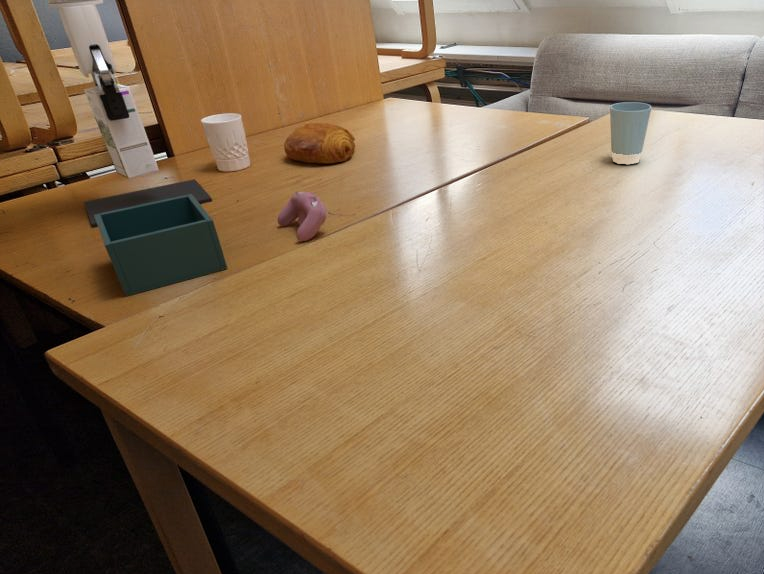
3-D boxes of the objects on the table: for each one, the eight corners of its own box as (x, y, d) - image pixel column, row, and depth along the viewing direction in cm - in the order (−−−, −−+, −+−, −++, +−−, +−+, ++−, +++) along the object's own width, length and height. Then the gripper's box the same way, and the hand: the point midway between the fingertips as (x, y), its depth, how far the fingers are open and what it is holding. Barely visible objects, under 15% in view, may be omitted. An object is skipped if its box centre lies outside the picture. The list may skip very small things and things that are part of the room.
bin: (126, 296, 83) (104, 245, 79) (113, 262, 93) (93, 214, 88) (227, 269, 89) (212, 219, 85) (206, 239, 99) (191, 193, 94)
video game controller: (323, 247, 98) (335, 204, 96) (296, 242, 95) (308, 197, 93) (300, 228, 104) (310, 188, 102) (274, 223, 101) (284, 181, 99)
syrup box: (160, 171, 111) (131, 85, 103) (127, 180, 108) (94, 91, 100) (147, 165, 114) (118, 81, 106) (115, 174, 111) (81, 87, 103)
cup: (604, 166, 120) (609, 110, 114) (606, 155, 126) (610, 101, 121) (644, 167, 119) (651, 111, 113) (644, 156, 125) (650, 102, 119)
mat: (92, 227, 105) (91, 224, 105) (84, 204, 115) (83, 201, 115) (212, 201, 114) (211, 197, 113) (195, 182, 123) (194, 179, 123)
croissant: (328, 180, 127) (324, 142, 122) (273, 160, 133) (267, 123, 128) (372, 159, 137) (371, 123, 132) (320, 141, 143) (316, 106, 138)
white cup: (261, 164, 132) (249, 115, 126) (231, 174, 126) (217, 124, 121) (236, 159, 135) (224, 112, 130) (207, 169, 130) (192, 120, 124)
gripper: (43, -6, 100) (87, 110, 110) (48, -2, 88) (98, 128, 98) (94, -10, 103) (132, 103, 113) (106, -6, 91) (148, 120, 101)
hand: (116, 114), depth 105 cm, fingers closed on syrup box, 6 cm apart
